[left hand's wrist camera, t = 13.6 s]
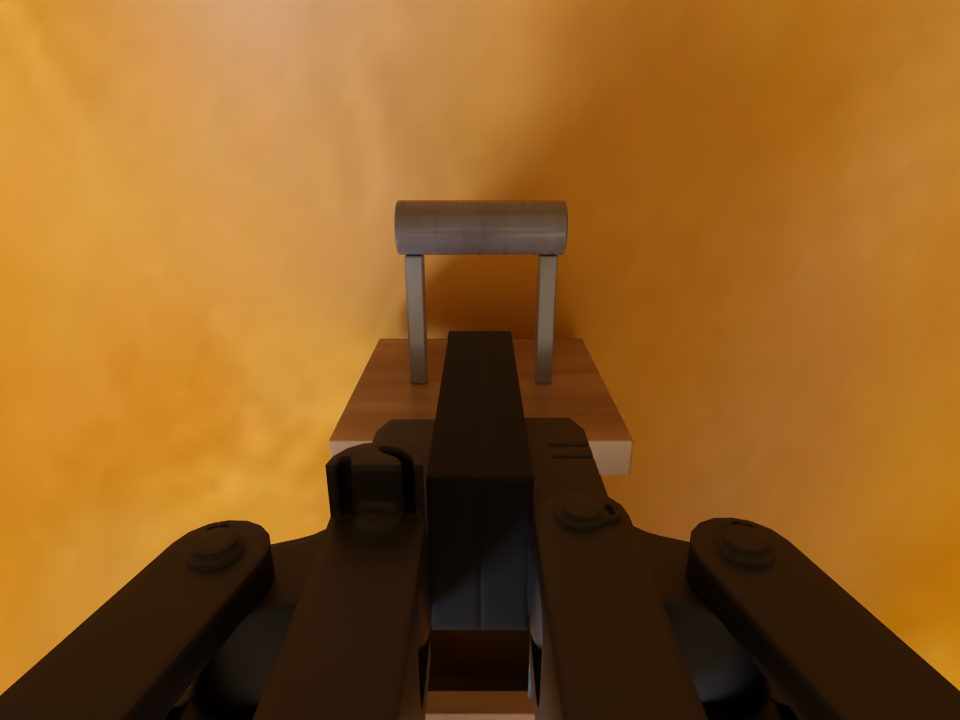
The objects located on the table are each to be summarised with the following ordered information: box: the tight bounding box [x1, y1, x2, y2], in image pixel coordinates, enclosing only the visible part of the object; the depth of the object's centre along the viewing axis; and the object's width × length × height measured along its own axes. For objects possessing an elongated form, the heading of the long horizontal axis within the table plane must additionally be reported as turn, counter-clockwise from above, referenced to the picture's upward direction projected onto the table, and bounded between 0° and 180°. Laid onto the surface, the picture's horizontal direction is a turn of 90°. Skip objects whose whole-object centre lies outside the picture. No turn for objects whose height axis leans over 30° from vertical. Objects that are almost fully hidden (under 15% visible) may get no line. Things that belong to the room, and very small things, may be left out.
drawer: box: [329, 200, 633, 691], centre depth 24 cm, size 26×9×9 cm, turn 0°
